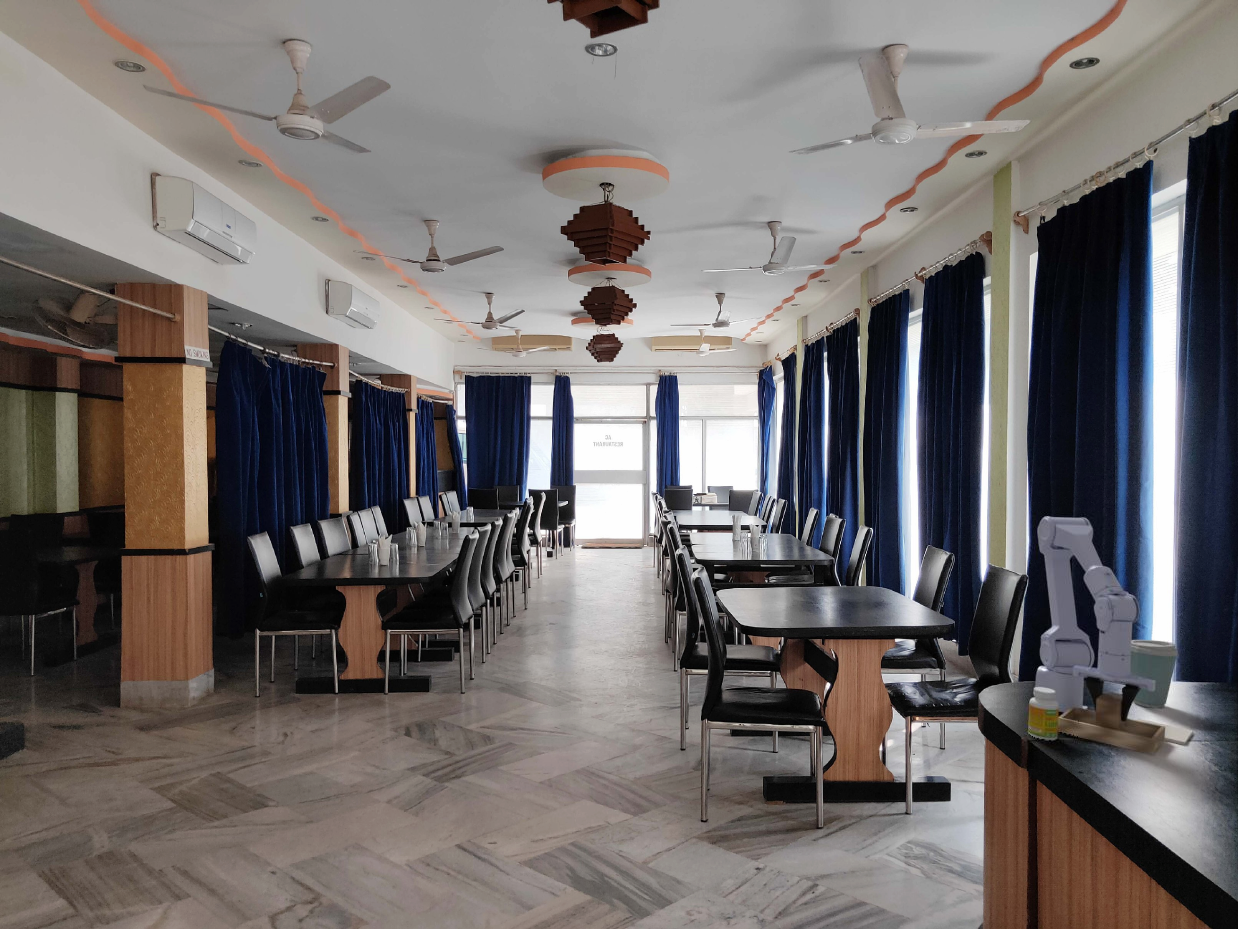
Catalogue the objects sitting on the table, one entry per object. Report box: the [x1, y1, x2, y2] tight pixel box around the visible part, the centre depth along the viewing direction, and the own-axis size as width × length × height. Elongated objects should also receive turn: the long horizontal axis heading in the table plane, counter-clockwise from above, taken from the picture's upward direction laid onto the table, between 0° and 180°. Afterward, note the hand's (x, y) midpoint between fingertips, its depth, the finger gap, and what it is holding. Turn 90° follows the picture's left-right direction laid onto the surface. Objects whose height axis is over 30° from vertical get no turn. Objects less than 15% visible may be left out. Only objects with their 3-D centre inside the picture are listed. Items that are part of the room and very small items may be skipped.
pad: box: [1136, 718, 1194, 746], centre depth 172 cm, size 10×10×1 cm
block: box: [1095, 690, 1126, 731], centre depth 169 cm, size 4×8×6 cm, turn 137°
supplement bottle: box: [1027, 687, 1059, 741], centre depth 167 cm, size 5×5×10 cm
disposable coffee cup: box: [1130, 639, 1179, 709], centre depth 192 cm, size 11×11×15 cm
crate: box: [1058, 706, 1166, 756], centre depth 169 cm, size 17×11×3 cm, turn 47°
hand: (1111, 717), depth 169 cm, fingers closed on block, 4 cm apart
